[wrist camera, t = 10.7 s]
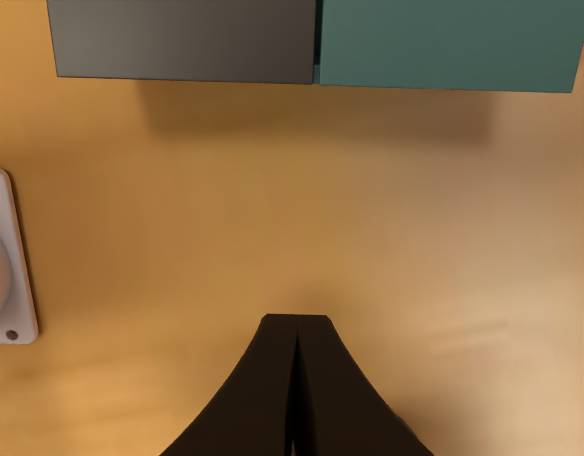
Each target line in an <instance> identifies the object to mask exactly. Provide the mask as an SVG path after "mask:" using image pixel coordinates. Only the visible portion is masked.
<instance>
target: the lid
mask: <svg viewBox="0 0 584 456" xmlns="http://www.w3.org/2000/svg"><path fill="white" fill-rule="evenodd" d="M46 1H47V8H48V16H49V23H50V30H51V37H52V44H53V51H54V58H55V65H56V72H57V77H70V78H104V79H138V80H172V81H206V82H240V83H274V84H308V85H311V84H313V72H314V50H315V27H316V5H317V0H46Z"/></svg>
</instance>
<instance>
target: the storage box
mask: <svg viewBox="0 0 584 456" xmlns="http://www.w3.org/2000/svg"><path fill="white" fill-rule="evenodd" d="M583 43H584V0H317V5H316V27H315V50H314V72H313V84H319V85H323V86H355V87H386V88H418V89H450V90H482V91H513V92H545V93H572V90H573V85H574V81H575V77H576V72H577V68H578V64H579V60H580V55H581V51H582V47H583Z"/></svg>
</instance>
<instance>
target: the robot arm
mask: <svg viewBox="0 0 584 456" xmlns="http://www.w3.org/2000/svg"><path fill="white" fill-rule="evenodd" d="M11 330H13V331H15V332H16V333H17V334H18V335H15V334H13V333H12V332H11ZM37 336H38V326H37V321H36V315H35V310H34V305H33V299H32V294H31V289H30V283H29V278H28V273H27V268H26V262H25V257H24V252H23V246H22V241H21V236H20V231H19V225H18V220H17V215H16V209H15V204H14V199H13V194H12V188H11V183H10V179H9V176H8V174H7V173H6V172H5V171H4V170H3V169H1V168H0V344H30V343H32V342H33V341H34V340H35V339H36V338H37ZM293 443H294V454H295V456H434V455H433V454H432V453H431V452H430V451H429V450H428V449H427V448H426V447H425V446H424V445H423V444H422V443H421V442H420V441H419V440H418V439H417V438H416V437H415V436H414V435H413V433H412V432H411V431H410V430H409V429H408V428H407V427H406V426H405V425H404V424H403V423H402V422H401V420H400V419H399V418H398V417H397V416H396V415H395V414H394V412H393V411H392V410H391V409H390V408H389V406H388V405H387V404H386V403H385V401H384V400H383V399H382V398H381V397H380V395H379V394H378V393H377V392H376V390H375V389H374V388H373V386H372V385H371V384H370V382H369V381H368V380H367V378H366V377H365V375H364V374H363V372H362V371H361V370H360V368H359V367H358V365H357V364H356V363H355V361H354V360H353V358H352V357H351V355H350V353H349V352H348V350H347V349H346V347H345V345H344V344H343V342H342V340H341V339H340V337H339V335H338V333H337V332H336V330H335V328H334V326H333V324H332V321H331V320H330V319H329V318H328V317H327V316H326V315H298V314H266V315H265V316H264V317H263V318H262V319H261V322H260V325H259V327H258V329H257V332H256V334H255V335H254V337H253V339H252V341H251V343H250V344H249V346H248V348H247V350H246V351H245V353H244V354H243V356H242V357H241V359H240V361H239V362H238V364H237V365H236V367H235V368H234V370H233V371H232V373H231V374H230V376H229V377H228V378H227V380H226V381H225V382H224V384H223V385H222V386H221V388H220V389H219V390H218V391H217V393H216V394H215V395H214V397H213V398H212V399H211V401H210V402H209V403H208V404H207V406H206V407H205V408H204V409H203V410H202V411H201V413H200V414H199V415H198V416H197V417H196V418H195V420H194V421H193V422H192V423H191V424H190V425H189V426H188V427H187V428H186V429H185V430H184V431H183V432H182V434H181V435H180V436H179V437H178V438H177V439H176V440H175V441H174V442H173V443H172V444H171V445H170V446H169V447H168V448H167V449H166V450H164V451H163V452H162V453H161V454H160V455H159V456H291V455H292V445H293Z"/></svg>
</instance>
